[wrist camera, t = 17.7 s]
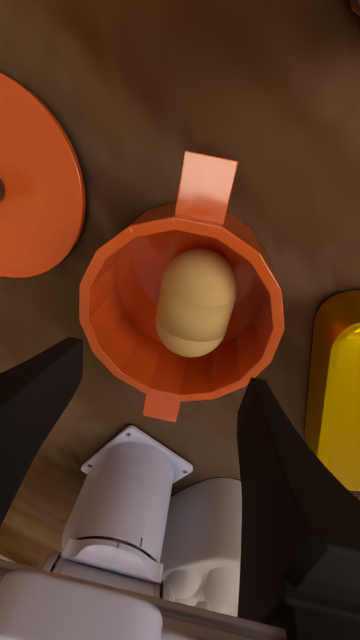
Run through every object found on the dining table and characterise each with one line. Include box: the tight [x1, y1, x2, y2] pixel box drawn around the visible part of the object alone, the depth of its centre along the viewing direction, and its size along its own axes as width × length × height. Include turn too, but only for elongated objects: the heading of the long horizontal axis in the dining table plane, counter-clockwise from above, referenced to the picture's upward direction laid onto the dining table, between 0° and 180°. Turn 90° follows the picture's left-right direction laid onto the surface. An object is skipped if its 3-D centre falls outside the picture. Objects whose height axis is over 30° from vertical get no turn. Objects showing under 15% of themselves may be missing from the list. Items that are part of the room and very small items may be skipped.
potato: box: [156, 248, 238, 357], centre depth 19 cm, size 7×5×5 cm, turn 170°
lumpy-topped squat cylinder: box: [160, 478, 242, 617], centre depth 31 cm, size 10×13×9 cm
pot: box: [79, 150, 285, 422], centre depth 19 cm, size 11×17×5 cm
